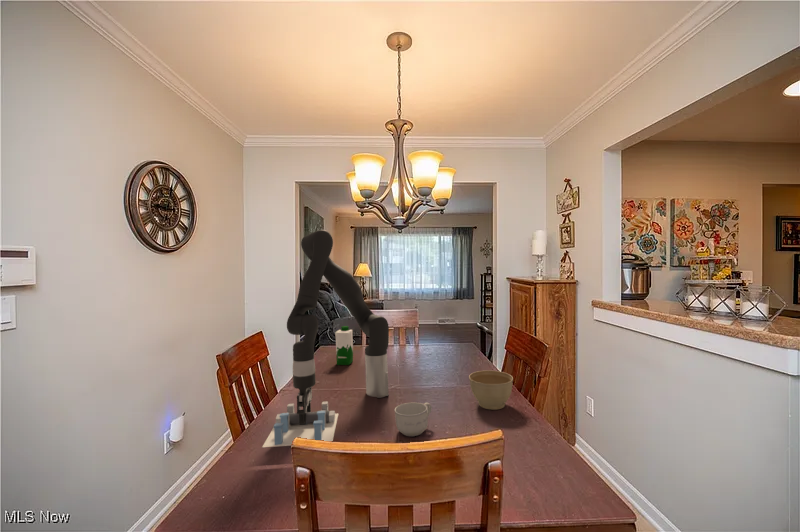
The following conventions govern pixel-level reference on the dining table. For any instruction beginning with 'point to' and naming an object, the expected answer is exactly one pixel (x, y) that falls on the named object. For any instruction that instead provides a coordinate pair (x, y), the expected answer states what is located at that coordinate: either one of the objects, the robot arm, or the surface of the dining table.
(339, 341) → the milk carton
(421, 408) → the teacup
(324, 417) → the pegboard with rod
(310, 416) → the dark grey dowel
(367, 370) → the robot arm
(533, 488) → the dining table surface
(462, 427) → the dining table surface
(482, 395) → the planter bowl
